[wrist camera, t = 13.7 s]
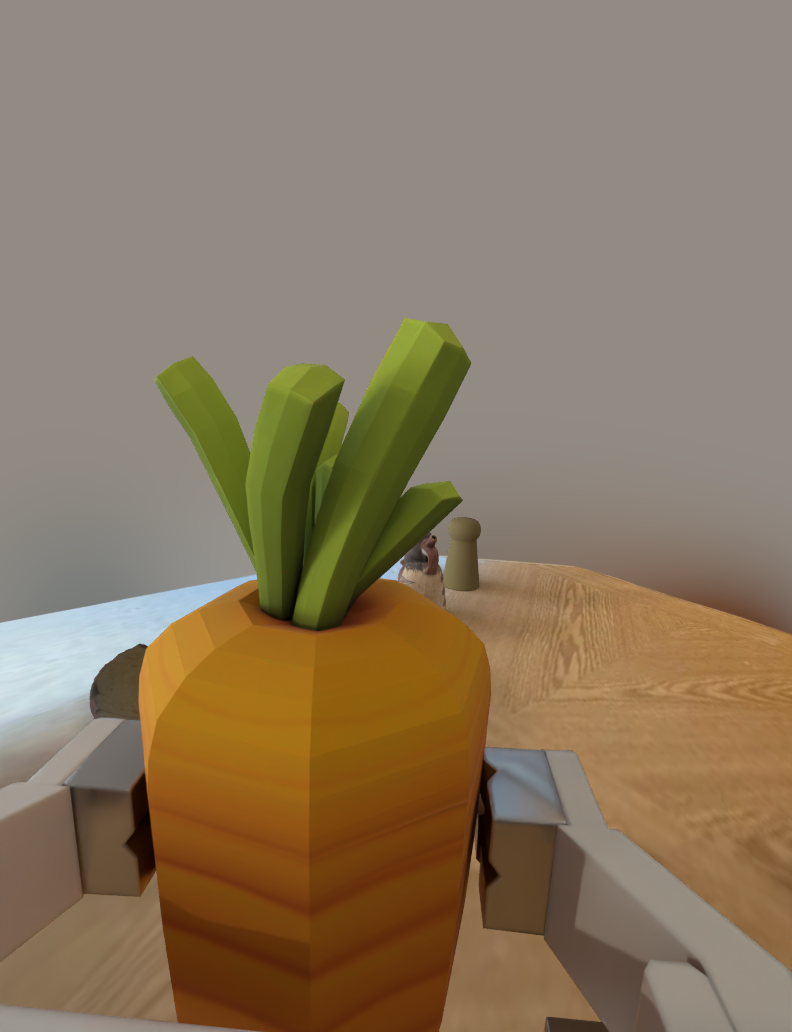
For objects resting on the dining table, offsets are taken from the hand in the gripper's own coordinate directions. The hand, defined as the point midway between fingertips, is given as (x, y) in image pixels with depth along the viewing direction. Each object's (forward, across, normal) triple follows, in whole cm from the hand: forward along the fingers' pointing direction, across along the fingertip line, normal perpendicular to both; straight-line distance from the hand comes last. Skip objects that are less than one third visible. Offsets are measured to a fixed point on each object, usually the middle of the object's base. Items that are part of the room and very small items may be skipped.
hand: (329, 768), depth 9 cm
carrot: (-1, 0, +8) cm, 8 cm away
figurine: (+62, -1, +24) cm, 66 cm away
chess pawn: (+75, -8, +24) cm, 79 cm away
